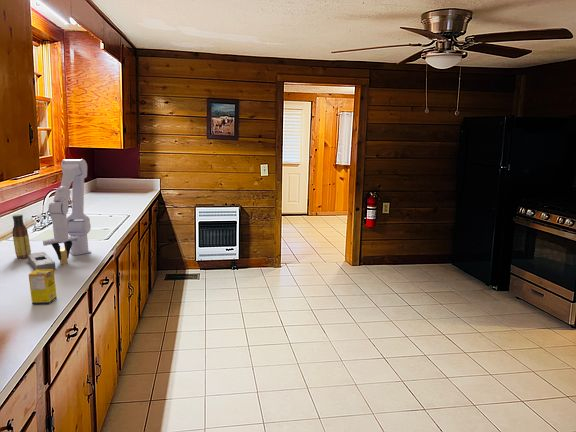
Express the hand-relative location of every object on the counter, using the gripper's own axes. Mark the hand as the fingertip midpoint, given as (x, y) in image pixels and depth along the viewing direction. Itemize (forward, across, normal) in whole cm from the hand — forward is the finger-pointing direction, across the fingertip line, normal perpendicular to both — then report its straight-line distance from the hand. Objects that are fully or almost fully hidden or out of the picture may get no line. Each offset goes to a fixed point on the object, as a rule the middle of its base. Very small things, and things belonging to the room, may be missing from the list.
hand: (63, 258), depth 214 cm
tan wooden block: (+2, 0, 0) cm, 2 cm away
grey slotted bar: (+2, -8, +3) cm, 9 cm away
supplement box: (+2, -16, -46) cm, 49 cm away
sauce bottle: (+2, -12, +22) cm, 25 cm away
